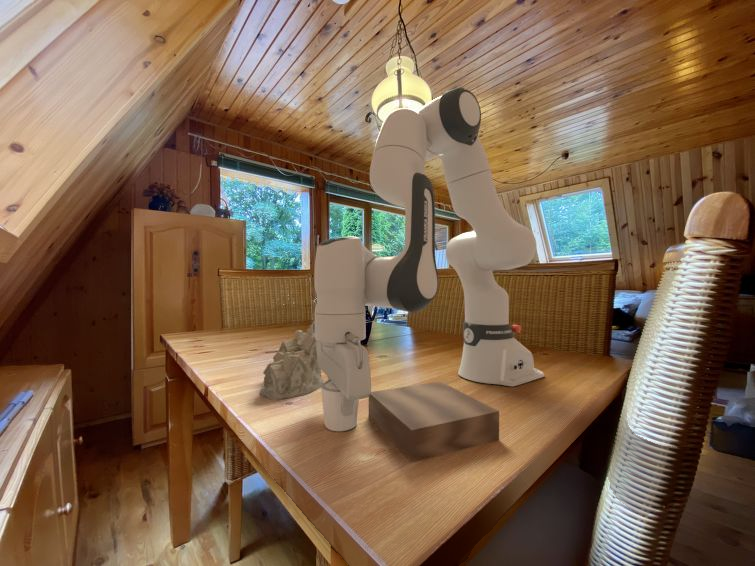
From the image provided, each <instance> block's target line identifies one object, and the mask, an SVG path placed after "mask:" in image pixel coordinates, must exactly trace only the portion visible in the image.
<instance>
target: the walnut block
mask: <svg viewBox="0 0 755 566" xmlns="http://www.w3.org/2000/svg"><path fill="white" fill-rule="evenodd" d="M368 418H369V419H370V420H371V421H372V422H373V423H374V425H375V426H377V428H378V429H379V430H380V431H381V432H382V434H384V435H385V437H386V438H387V439H389V441H390V442H391V443H393V445H394V446H395V447H396V448H397V449H398V450H399V451H400V453H402V455H404V456H405V458H406V459H407V460H408V461H409V462H410V463H411V464H412V463H416V462H419V461H424V460H428V459H431V458H436V457H439V456H442V455H446V454H450V453H455V452H458V451H462V450H465V449H469V448H470V449H471V448H473V447H477V446H481V445H486V444H489V443H493V442H496V441H497V442H498V441H499V440H500V411H499V410H498V409H495V408H493V407H491V406H490V405H488V404H486V403H484V402H482V401H480V400H478V399H476V398H474V397H473V396H470V395H468V394H466V393H464V392H462V391H460V390H459V389H456V388H454V387H452V386H451V385H448V384H446V383H444V382H443V381H441V380H440V381H435V382H428V383H423V384H415V385H408V386H402V387H395V388H390V389H389V388H388V389H382V390H375V391H371V393H370V395H369V397H368Z"/></svg>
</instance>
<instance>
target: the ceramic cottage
mask: <svg viewBox="0 0 755 566" xmlns="http://www.w3.org/2000/svg"><path fill="white" fill-rule="evenodd" d="M272 358H273V362H269V363H268V364H267V365H266V368H265V369H264V370H263V372H262V374H264V377H263V386H261V388H260V389H259V395H260V394H261V395H260V396H261V397H264V398H265V397H266V398H267V399H269V400H272V401H273V400H274V401H279V400H283V399H287V398H288V399H292V398H294V397H300V396H304V395H308V394H310V393H312V392H315V391H317V390H319V389H321V385H322V383H324V379H323V376H322V370H321V369H320V368H319V364H318V360H317V349H316V339H315V334H314V333H313V324H310V325H309V328H307V331H306V333H305V332H303V330H301V329H299V330H298V329H297V330H295V332H294V338H293V339H291V340H285V341H284V340H283V341H282V343H281V344H280V347H279V348H278V350H277V352H276V353H275V355H274V356H273V357H272Z"/></svg>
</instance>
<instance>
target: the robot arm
mask: <svg viewBox="0 0 755 566" xmlns="http://www.w3.org/2000/svg"><path fill="white" fill-rule="evenodd" d="M481 122H482V111H481V106H480V104H479V100H478V99H477V97H476V96H475V95H474V93H473V92H472V91H470V90H468V89H467V88H465V87H463V86H461V87H455V88H453V89H452V88H451V89H450V90H448V91H445V92H444V93H443V94H442V95H441V96H439V97H437V98H434V99H433V100H431V101H429V102H427V103H426V104H425V105H422V106H421V107H420V109H418V111H416V110H414V109H411V108H407V107H403V108H402V107H401V108H396V109H395V110H392V111H391V112H390V113H389V114H387V116H386V117H385V118H384V121H383V123H382V125H381V127H380V130H379V133H378V136H377V139H376V142H375V145H374V149H373V153H372V158H371V162H370V167H369V182H370V185H371V188H372V189H373V190H374V192H375V194H376V195H377V196H378V197H380V198H381V199H382V200H384V201H385V202H387V203H389V204H392V205H394V206H397V207H401V208H404V212H405V218H404V219H405V224H404V247H403V250H402V251H401V252H399V254H397V255H393V256H378V255H377V254H375V253H374V252H372V251H370V250H369V249H368V248H367V247H366V246H365V245H364V244H363V242H362V239H361V237H359V236H356V235H347V236H340V237H333V238H328V239H324V240H322V241H321V242H320V243H319V245H318V246H317V249H316V254H315V258H314V259H315V261H314V274H313V275H314V289H315V290H314V291H315V293H316V304H315V308H314V321H313V322H312V325H313V333H314V334H315V339H316V349H317V360H318V364H319V368H320V369H321V372H322V373H324V374H325V376H326V377H327V381H328V380H331V381H332V382H333V383H334V384H335V385H336V387H337V388H338V389H339V390H340V391H341V395H342V404H341V413H342V415H343V416H350V415H352V414H353V404H354V401H355V400H358V399H359V400H363V399H369V395H370V393H371V392H372V377H371V376H372V375H371V364H370V363H371V361H370V357H369V356H370V355H369V351H368V349H367V348H366V346H363V345H362V343H361V341H363V340H365V339H366V338H367V336H366V335H367V334H366V332H367V330H366V327H367V326H366V320H367V319H366V313H367V312H366V307H376V308H384V309H395V310H398V311H403V312H408V313H415V314H416V313H420V312H421V311H423V310H424V309H426V307H429V305H430V304H431V303H432V301H433V300H434V299H435V297H436V296H437V294H438V289H439V275H438V268H437V262H436V202H435V201H436V200H435V190H434V186H433V184H432V182H431V180H430V178H429V177H428V176H427V175H425V173H424V172H425V164H426V161H428V160H432V159H435V158H437V157H439V158H440V159H441V161H442V168H443V174H444V179H445V183H446V187H447V191H448V195H449V198H450V202H451V206H452V210H453V212H454V213H455V215H456V216H457V217H459V218H461V219H463V220H465V221H466V222H467V223H468V224H469V225H470V226H471V229H473V230H472V231H467V232H463V233H461V234H459V235H457V236H454V237H452V238H451V239H450V240H449V241H448V242H447V245H446V248H445V258H446V260H447V263H448V264H449V265H450V266H451V267H452V268H453V269H454V270H455V272H456V274H457V275H458V277H459V280H460V283H461V286H462V289H463V298H464V299H463V301H464V321H463V322H462V335H463V336H462V337H463V347H462V354H461V360H460V364H459V365H460V366H459V369H458V371H457V373H458V375H459V376H460V377H462V378H463V379H466V380H469V381H472V382H475V383H481V384H489V385H491V384H493V385H502V386H507V387H516V386H520V385H522V384H526V383H530V382H531V381H534V380H539V379H542V378H543V377H545V373H544V372H543V371H541V370H540V369H538V368H535V365H534V355H533V354H532V352H531V350H529V349H528V348H527V347H525V346H524V345H523V344H522V343H521V342H520V341H518V340H517V339H516V338H515V335H514V333H518V334H519V333H521V331H522V326H521V325H519V324H512V325H511V324H510V323H509V322H510V321H509V320H510V318H509V317H510V316H509V315H510V313H509V312H510V311H509V310H510V304H509V303H510V296H509V294H508V292H507V290H506V289H505V288H503V287H501V286H500V285H499V284H498V283H497V281H496V280H495V277H494V273H493V271H501V270H502V271H505V270H506V271H509V270H512V269H517V268H521V267H524V266H527V265H529V264H531V262H532V261H533V259H534V257H535V255H536V252H537V239H536V237H535V235H534V233H533V232H532V231H531V230H530V229H529V228H528V227H527V226H525V225H523V224H521V223H520V222H517V221H516V220H515V219H514V218H513V217H512V216H511V215H510V214H509V213H508V211H507V210H506V209H505V207H504V206H503V204H502V202H501V200H500V198H499V194H498V192H497V189H496V185H495V181H494V178H493V173H492V170H491V165H490V162H489V159H488V157H487V152H486V151H485V148H484V145H483V143H482V141H481V140H480V137H479V136H478V135H479V131H480V127H481ZM365 306H366V307H365Z"/></svg>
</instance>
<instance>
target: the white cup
mask: <svg viewBox="0 0 755 566" xmlns="http://www.w3.org/2000/svg"><path fill="white" fill-rule="evenodd" d="M320 390H321V391H320V392H321V400H322V401H321V402H322V410H323V411H322V412H323V420H324V421H323V423H324V427H325V428H326V429H328V430H329V431H333V432H345V431H349V430H352V429H354V428H355V427H356V426H357V422H358V414H359V413H358V410H359V402H360V399H358V400H355V401H354V404H353V414H352V415H350V416H343V415H342V413H341V404H342V395H341V391H340V390H339V389H338V388H337V387H336V385H335V384H334V383H333V382H332V381H331V380H328V379H327V380H326V381H323V383H322V385H321V387H320Z"/></svg>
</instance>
